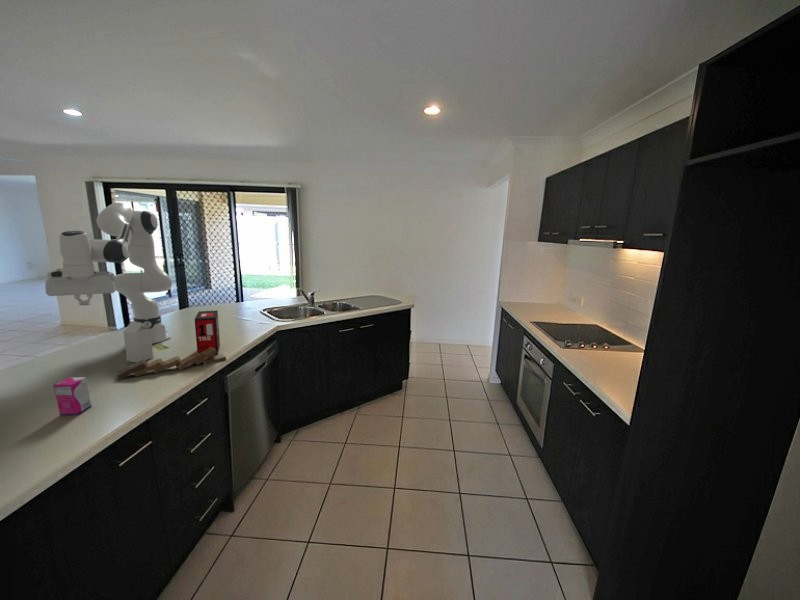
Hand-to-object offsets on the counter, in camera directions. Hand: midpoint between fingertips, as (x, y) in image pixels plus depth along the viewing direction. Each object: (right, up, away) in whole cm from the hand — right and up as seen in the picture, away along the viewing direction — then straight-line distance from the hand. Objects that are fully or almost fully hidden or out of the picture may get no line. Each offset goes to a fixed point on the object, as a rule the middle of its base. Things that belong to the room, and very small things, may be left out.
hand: (85, 305), depth 130 cm
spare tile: (+10, -30, +4) cm, 32 cm away
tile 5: (+32, -28, +20) cm, 47 cm away
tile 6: (+34, -28, +22) cm, 50 cm away
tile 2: (+15, -30, +7) cm, 34 cm away
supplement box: (+17, -37, -20) cm, 45 cm away
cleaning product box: (+28, -25, +39) cm, 54 cm away
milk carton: (+3, -27, +24) cm, 36 cm away
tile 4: (+28, -29, +15) cm, 43 cm away
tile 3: (+20, -29, +11) cm, 37 cm away
